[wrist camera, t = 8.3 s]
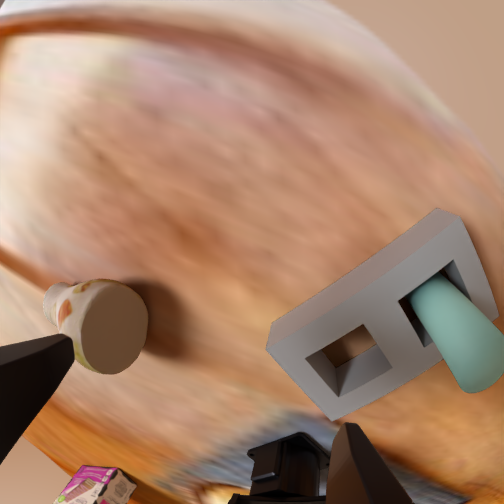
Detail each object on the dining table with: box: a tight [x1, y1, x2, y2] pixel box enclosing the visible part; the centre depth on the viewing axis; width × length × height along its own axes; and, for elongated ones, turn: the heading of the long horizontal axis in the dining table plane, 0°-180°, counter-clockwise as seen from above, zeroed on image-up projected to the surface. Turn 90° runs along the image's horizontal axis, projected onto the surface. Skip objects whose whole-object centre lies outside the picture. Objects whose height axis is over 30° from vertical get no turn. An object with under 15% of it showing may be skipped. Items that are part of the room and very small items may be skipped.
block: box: [266, 208, 499, 421], centre depth 18 cm, size 8×14×4 cm, turn 129°
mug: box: [43, 279, 148, 374], centre depth 21 cm, size 8×10×10 cm
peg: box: [404, 272, 504, 393], centre depth 14 cm, size 3×3×10 cm
